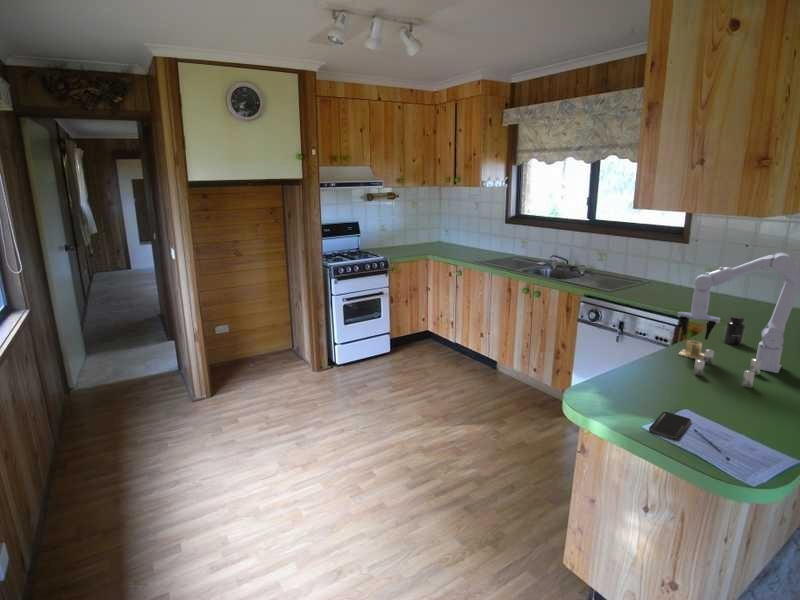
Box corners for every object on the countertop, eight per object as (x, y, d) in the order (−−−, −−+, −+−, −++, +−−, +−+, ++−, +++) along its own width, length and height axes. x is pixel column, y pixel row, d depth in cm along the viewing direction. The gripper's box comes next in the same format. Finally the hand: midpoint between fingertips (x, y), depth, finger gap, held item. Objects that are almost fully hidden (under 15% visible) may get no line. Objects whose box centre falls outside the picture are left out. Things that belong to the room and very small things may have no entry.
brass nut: (687, 350, 199) (689, 339, 197) (701, 353, 195) (703, 341, 194) (683, 354, 195) (685, 342, 193) (697, 357, 191) (699, 345, 190)
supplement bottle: (733, 346, 205) (738, 319, 202) (719, 341, 212) (723, 315, 209) (746, 344, 207) (750, 318, 204) (731, 339, 213) (735, 314, 210)
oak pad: (682, 350, 201) (682, 349, 200) (707, 356, 195) (707, 354, 194) (678, 355, 196) (678, 353, 195) (703, 360, 190) (703, 358, 189)
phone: (648, 428, 138) (664, 410, 148) (647, 432, 138) (663, 414, 148) (678, 438, 132) (692, 419, 143) (677, 442, 133) (692, 422, 143)
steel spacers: (704, 361, 189) (706, 348, 188) (759, 373, 177) (762, 359, 175) (692, 374, 176) (694, 360, 175) (751, 388, 164) (754, 373, 163)
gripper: (677, 303, 192) (673, 335, 195) (719, 309, 182) (714, 343, 185) (682, 300, 197) (677, 331, 200) (723, 306, 187) (718, 338, 190)
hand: (695, 336), depth 193 cm, fingers open, 7 cm apart
